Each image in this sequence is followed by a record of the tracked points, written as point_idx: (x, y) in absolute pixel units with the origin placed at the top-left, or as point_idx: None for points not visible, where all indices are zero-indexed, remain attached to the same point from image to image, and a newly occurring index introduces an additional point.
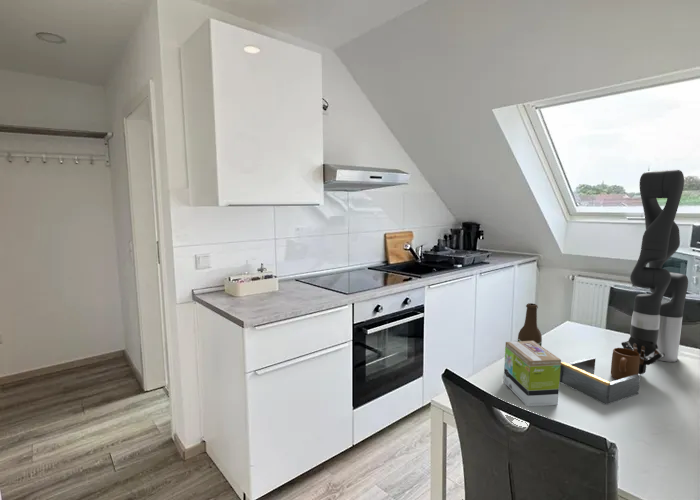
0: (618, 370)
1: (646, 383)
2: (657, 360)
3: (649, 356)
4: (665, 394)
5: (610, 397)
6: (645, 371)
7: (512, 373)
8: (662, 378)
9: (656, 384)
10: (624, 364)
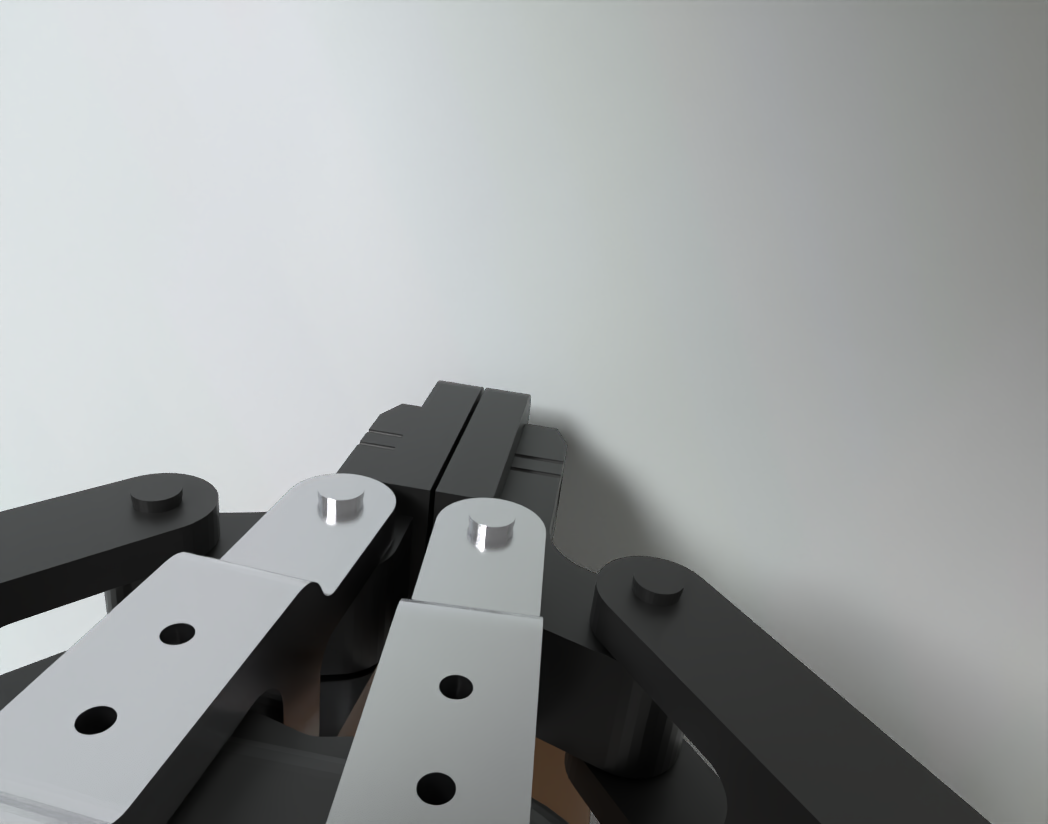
0: None
1: None
2: (859, 748)
3: (541, 637)
4: (1026, 811)
5: None
6: (564, 452)
7: None
8: (829, 161)
9: (828, 566)
10: None
